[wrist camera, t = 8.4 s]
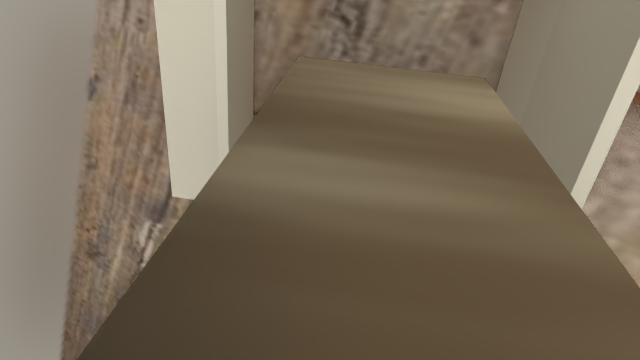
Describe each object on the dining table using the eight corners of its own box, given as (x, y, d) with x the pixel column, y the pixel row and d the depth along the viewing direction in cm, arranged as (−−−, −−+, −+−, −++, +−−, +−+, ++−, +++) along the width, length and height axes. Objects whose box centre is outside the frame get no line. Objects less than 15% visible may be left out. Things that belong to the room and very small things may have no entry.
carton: (473, 196, 39) (523, 335, 26) (203, 159, 41) (111, 269, 27) (548, -43, 30) (692, -30, 16) (191, -79, 32) (40, -96, 18)
